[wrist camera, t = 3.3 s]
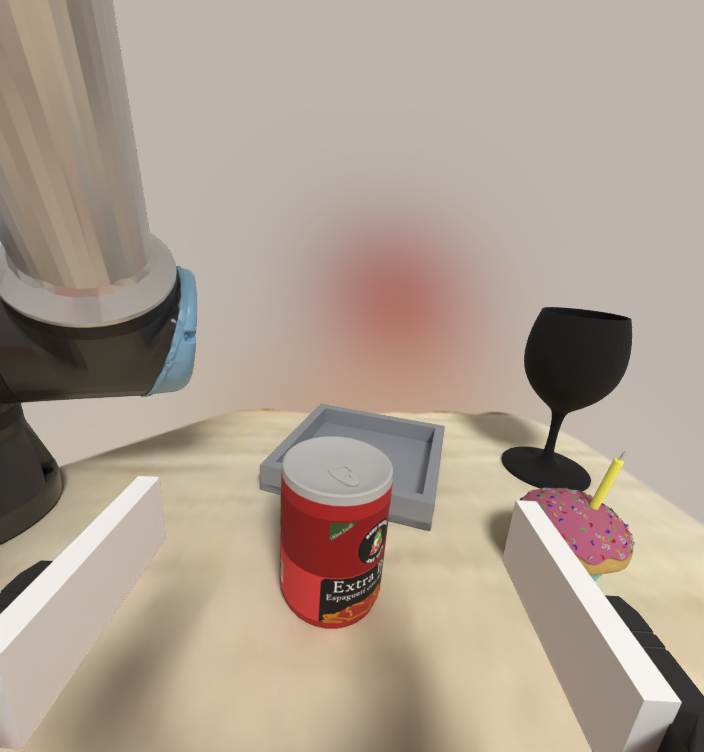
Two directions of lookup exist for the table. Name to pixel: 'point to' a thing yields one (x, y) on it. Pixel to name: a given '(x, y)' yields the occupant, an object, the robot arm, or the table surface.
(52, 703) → the robot arm
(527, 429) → the table surface
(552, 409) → the wine glass
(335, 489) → the canned food
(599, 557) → the cupcake
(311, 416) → the tray
